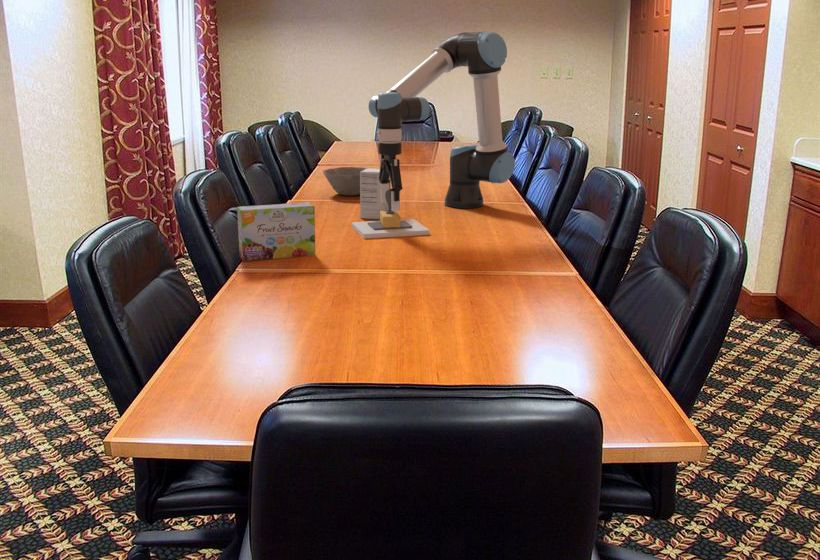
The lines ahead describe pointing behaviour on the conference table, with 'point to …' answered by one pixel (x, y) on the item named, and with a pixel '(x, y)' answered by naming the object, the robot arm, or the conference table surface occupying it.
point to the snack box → (276, 231)
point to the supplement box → (371, 194)
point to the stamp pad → (389, 229)
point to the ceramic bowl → (344, 179)
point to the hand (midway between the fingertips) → (390, 206)
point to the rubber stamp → (389, 214)
